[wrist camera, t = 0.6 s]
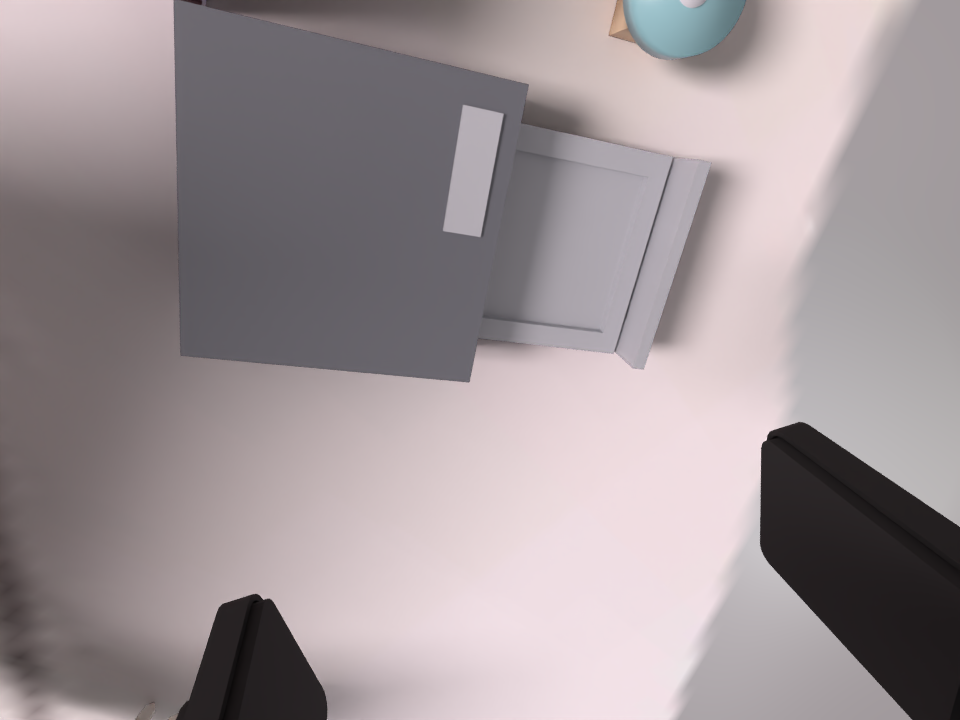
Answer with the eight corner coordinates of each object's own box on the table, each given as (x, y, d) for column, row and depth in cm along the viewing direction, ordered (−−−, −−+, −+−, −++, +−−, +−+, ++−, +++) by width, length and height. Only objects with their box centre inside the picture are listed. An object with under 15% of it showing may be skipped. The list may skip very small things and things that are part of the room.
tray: (447, 108, 30) (456, 105, 26) (680, 159, 33) (714, 163, 30) (414, 324, 34) (419, 345, 31) (622, 349, 38) (645, 369, 35)
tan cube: (626, -38, 29) (657, -58, 26) (682, -20, 30) (718, -38, 27) (608, 35, 31) (635, 24, 28) (663, 50, 32) (695, 41, 29)
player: (212, 24, 27) (171, -3, 22) (509, 94, 31) (539, 86, 25) (211, 318, 33) (179, 357, 27) (461, 345, 37) (478, 384, 31)
